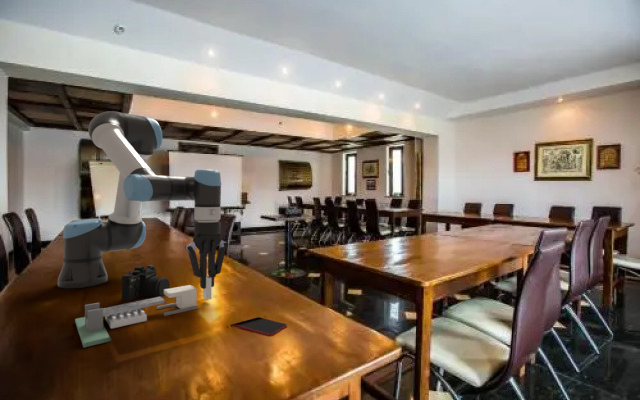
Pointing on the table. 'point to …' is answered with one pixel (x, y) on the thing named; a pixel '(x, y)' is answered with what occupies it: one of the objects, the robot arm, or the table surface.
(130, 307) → the grey board dark edge
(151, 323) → the table surface
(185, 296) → the white stepped block
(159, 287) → the camera
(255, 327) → the smartphone
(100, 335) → the heatsink board
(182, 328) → the table surface
